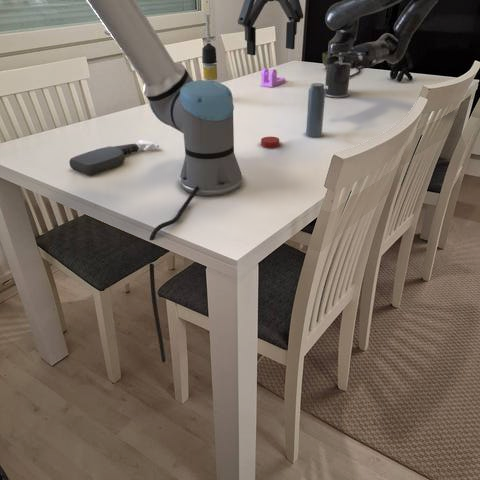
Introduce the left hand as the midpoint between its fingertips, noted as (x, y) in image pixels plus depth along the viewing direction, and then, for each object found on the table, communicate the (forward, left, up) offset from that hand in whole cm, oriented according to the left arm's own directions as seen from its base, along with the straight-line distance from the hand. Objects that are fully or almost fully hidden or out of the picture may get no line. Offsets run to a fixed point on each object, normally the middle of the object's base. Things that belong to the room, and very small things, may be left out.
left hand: (271, 51), depth 119 cm
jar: (+13, -11, -26) cm, 31 cm away
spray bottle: (-24, +37, -26) cm, 51 cm away
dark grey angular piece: (+97, -32, -26) cm, 106 cm away
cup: (+111, +2, -26) cm, 114 cm away
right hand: (+23, -15, -6) cm, 28 cm away
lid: (0, 0, -25) cm, 25 cm away
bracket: (+76, +20, -26) cm, 83 cm away
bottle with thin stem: (+44, +37, -26) cm, 63 cm away
